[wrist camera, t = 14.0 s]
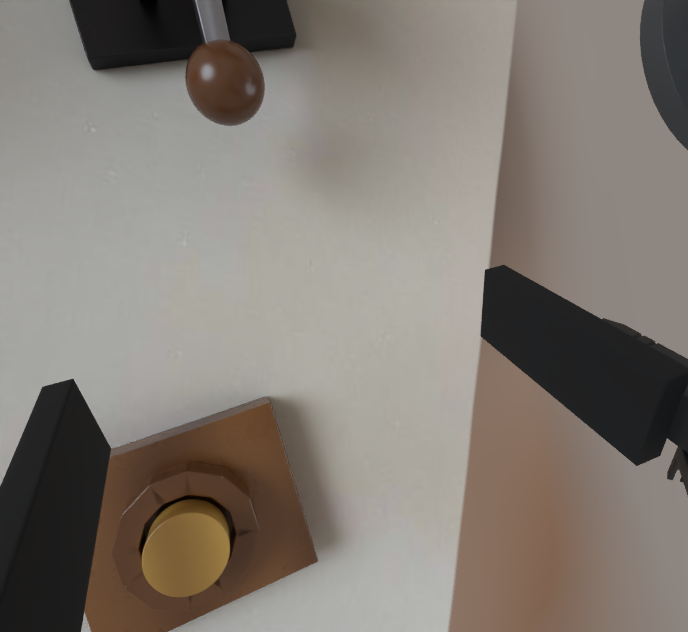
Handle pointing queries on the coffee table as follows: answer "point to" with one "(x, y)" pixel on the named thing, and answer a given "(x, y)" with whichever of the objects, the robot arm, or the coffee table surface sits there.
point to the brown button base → (205, 484)
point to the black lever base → (172, 29)
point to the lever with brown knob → (222, 71)
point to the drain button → (186, 548)
